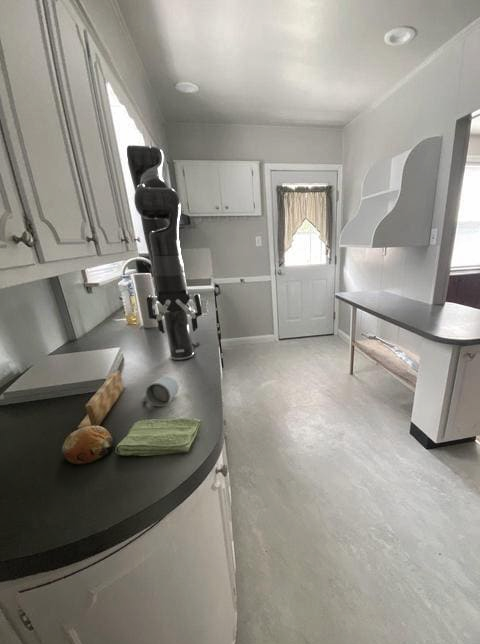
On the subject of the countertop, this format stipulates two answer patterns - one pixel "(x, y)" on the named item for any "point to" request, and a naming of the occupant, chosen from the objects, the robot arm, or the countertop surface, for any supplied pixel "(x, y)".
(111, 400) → the mottled tan rectangular block
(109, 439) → the bread roll
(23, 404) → the countertop surface
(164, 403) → the ceramic mug
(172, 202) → the robot arm
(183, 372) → the countertop surface
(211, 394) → the countertop surface
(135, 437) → the washcloth
